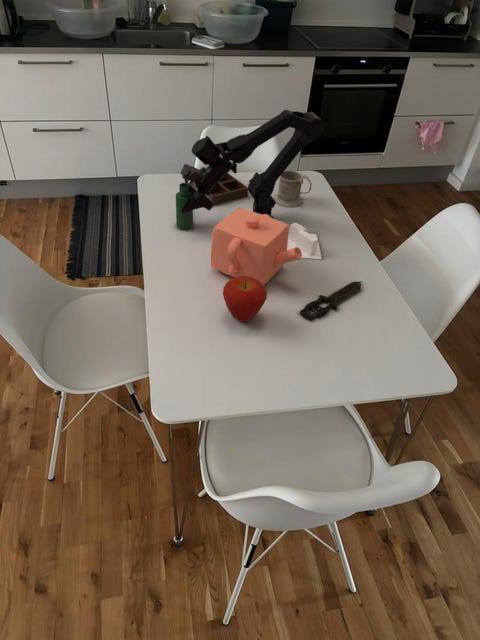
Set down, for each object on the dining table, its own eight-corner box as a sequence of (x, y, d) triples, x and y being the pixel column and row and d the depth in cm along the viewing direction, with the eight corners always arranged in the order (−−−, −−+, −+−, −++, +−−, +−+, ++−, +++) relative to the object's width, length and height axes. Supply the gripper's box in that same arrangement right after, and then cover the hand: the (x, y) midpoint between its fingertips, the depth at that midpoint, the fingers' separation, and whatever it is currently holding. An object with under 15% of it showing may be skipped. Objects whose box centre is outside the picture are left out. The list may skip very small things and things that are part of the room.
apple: (271, 316, 136) (276, 281, 128) (246, 336, 129) (249, 300, 121) (239, 298, 141) (242, 263, 133) (213, 317, 134) (215, 280, 126)
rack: (247, 196, 186) (248, 187, 184) (212, 206, 179) (212, 196, 177) (225, 179, 195) (225, 171, 193) (190, 188, 188) (190, 179, 186)
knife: (357, 281, 151) (358, 277, 150) (373, 292, 147) (374, 288, 146) (294, 310, 139) (295, 306, 138) (310, 323, 135) (311, 319, 134)
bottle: (195, 227, 167) (195, 186, 158) (181, 231, 165) (180, 190, 155) (187, 219, 170) (187, 179, 161) (173, 223, 168) (172, 183, 158)
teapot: (311, 270, 153) (321, 218, 142) (277, 309, 138) (285, 255, 127) (241, 243, 162) (244, 192, 150) (202, 277, 147) (203, 224, 135)
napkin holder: (322, 258, 158) (325, 243, 155) (286, 257, 158) (289, 241, 154) (316, 233, 170) (319, 218, 166) (283, 231, 169) (285, 216, 165)
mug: (269, 198, 186) (272, 167, 178) (287, 191, 191) (291, 161, 183) (297, 214, 179) (302, 183, 171) (316, 206, 184) (321, 176, 176)
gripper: (189, 144, 160) (156, 179, 164) (203, 170, 147) (167, 207, 151) (213, 166, 167) (181, 199, 172) (228, 192, 154) (193, 227, 158)
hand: (180, 207), depth 163 cm, fingers closed on bottle, 5 cm apart
